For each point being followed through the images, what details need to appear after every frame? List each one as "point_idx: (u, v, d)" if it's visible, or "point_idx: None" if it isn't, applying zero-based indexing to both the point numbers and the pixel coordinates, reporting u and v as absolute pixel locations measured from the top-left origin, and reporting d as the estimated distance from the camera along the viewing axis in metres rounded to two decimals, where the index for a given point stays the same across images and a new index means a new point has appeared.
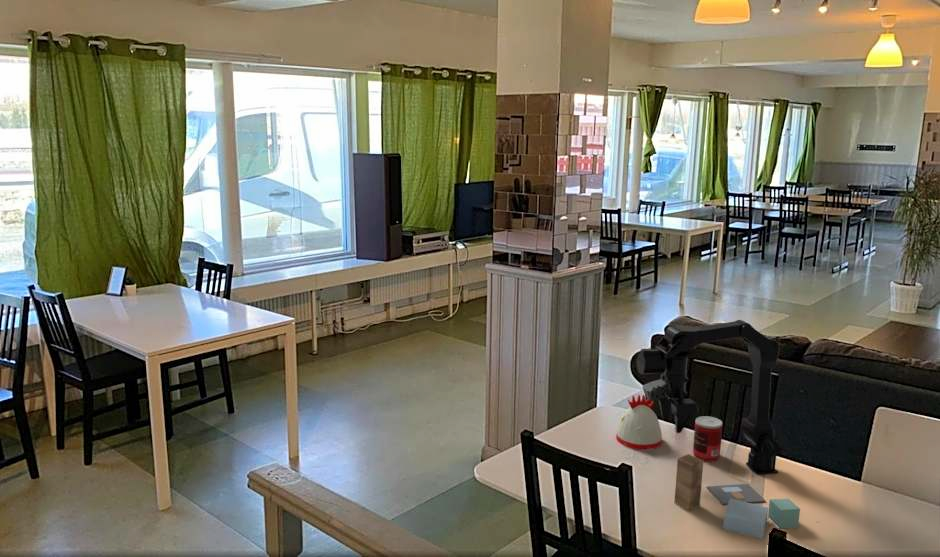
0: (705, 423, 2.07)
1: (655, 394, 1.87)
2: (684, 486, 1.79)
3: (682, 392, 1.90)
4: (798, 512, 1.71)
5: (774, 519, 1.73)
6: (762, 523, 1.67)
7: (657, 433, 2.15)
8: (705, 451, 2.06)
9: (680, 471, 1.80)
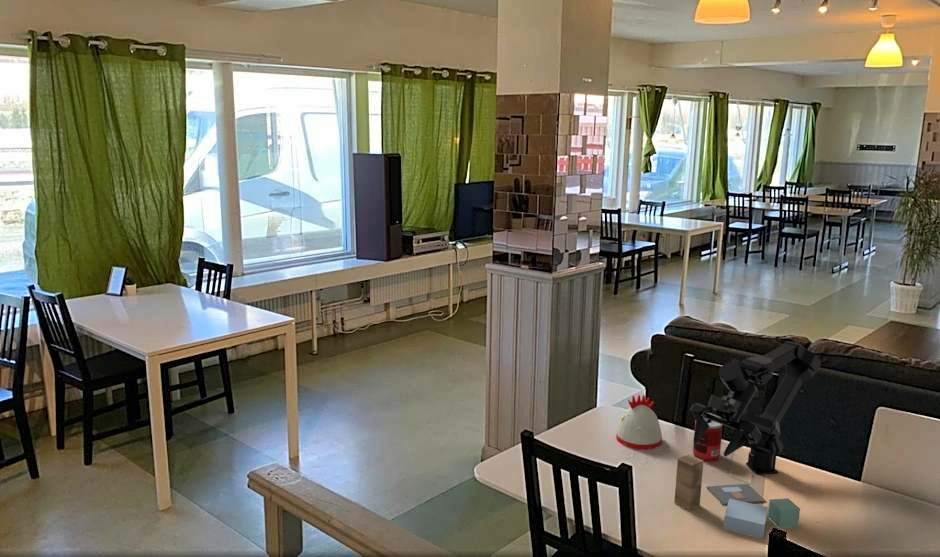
0: None
1: (734, 405, 1.79)
2: (684, 486, 1.79)
3: (739, 420, 1.85)
4: (798, 512, 1.71)
5: (774, 519, 1.73)
6: (763, 523, 1.67)
7: (657, 433, 2.15)
8: (705, 451, 2.06)
9: (680, 471, 1.80)
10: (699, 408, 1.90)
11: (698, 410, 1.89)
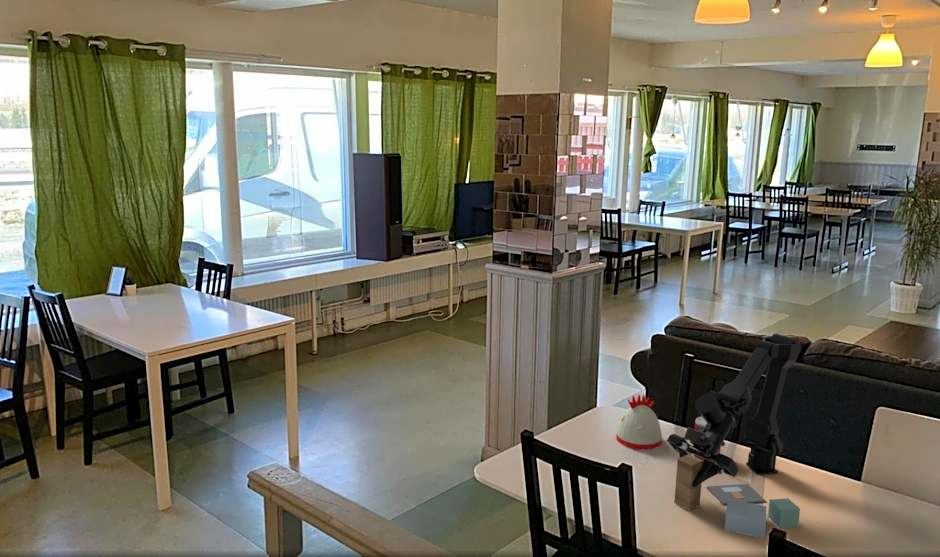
0: (705, 423, 2.07)
1: (710, 438, 1.76)
2: (684, 486, 1.79)
3: None
4: (798, 512, 1.71)
5: (774, 519, 1.73)
6: (764, 523, 1.67)
7: (657, 433, 2.15)
8: None
9: (680, 471, 1.80)
10: (676, 439, 1.86)
11: (675, 441, 1.85)
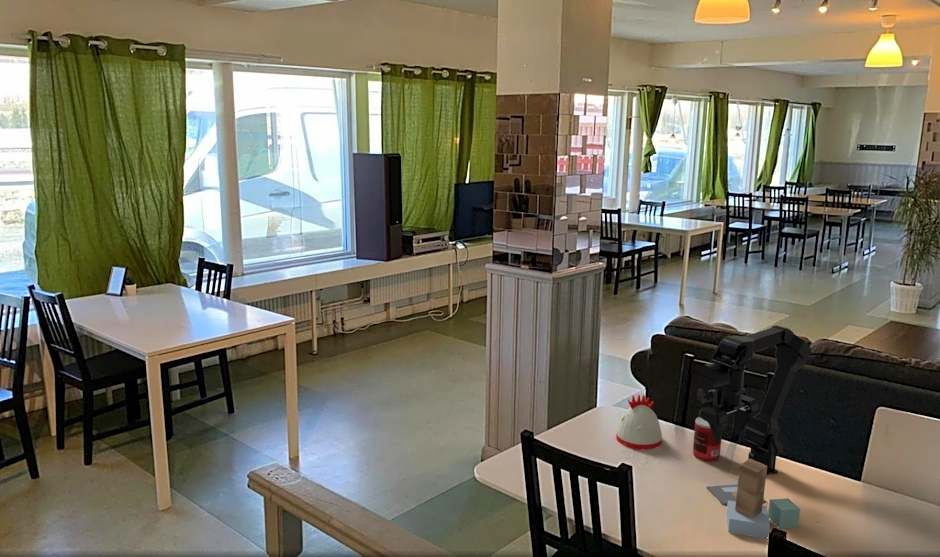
0: (705, 423, 2.07)
1: (697, 394, 1.92)
2: (747, 493, 1.69)
3: (728, 404, 1.86)
4: (798, 512, 1.71)
5: (774, 519, 1.73)
6: (767, 523, 1.67)
7: (657, 433, 2.15)
8: (705, 451, 2.06)
9: (743, 478, 1.69)
10: None
11: None
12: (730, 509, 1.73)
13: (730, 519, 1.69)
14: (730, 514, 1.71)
